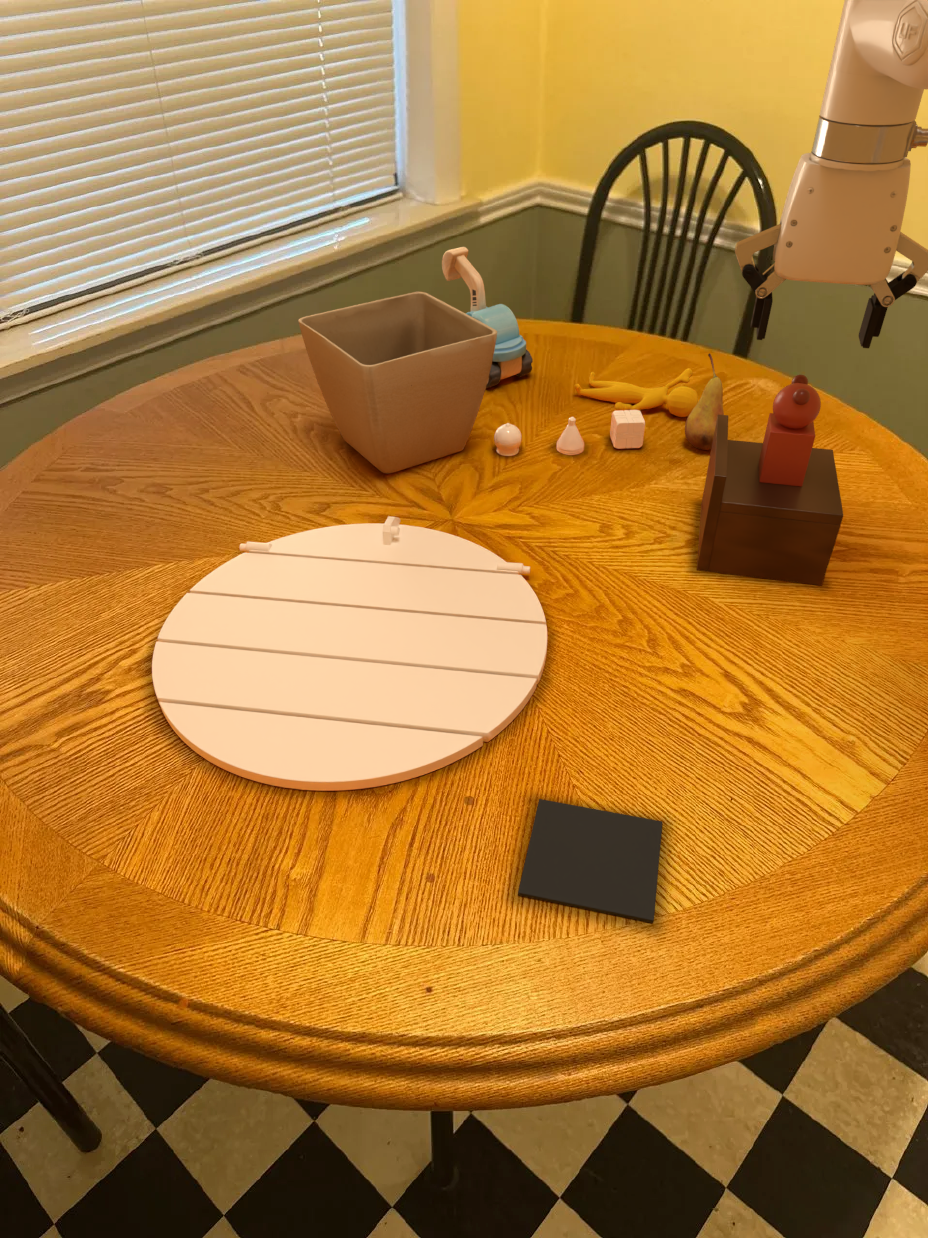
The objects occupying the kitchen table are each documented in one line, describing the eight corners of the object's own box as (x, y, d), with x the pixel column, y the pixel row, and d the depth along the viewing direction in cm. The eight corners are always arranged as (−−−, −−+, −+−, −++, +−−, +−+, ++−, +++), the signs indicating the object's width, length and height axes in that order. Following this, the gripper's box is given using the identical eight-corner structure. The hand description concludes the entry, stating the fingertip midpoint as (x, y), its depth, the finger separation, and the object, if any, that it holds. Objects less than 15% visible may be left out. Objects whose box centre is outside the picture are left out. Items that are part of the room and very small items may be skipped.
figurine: (602, 355, 133) (715, 369, 125) (602, 384, 136) (713, 399, 127) (560, 388, 125) (678, 405, 116) (561, 417, 128) (676, 437, 119)
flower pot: (427, 402, 129) (421, 287, 118) (500, 452, 117) (501, 330, 106) (312, 436, 121) (294, 318, 110) (376, 495, 109) (364, 367, 98)
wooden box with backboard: (814, 516, 103) (839, 425, 95) (821, 586, 93) (851, 489, 85) (701, 504, 106) (717, 414, 98) (696, 570, 95) (714, 475, 88)
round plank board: (242, 516, 106) (237, 492, 103) (561, 540, 100) (563, 515, 98) (79, 763, 75) (66, 736, 73) (524, 816, 70) (525, 789, 68)
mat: (662, 824, 69) (662, 821, 69) (653, 923, 62) (653, 920, 62) (539, 801, 71) (539, 798, 71) (517, 895, 64) (517, 892, 64)
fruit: (676, 451, 116) (689, 365, 108) (688, 433, 120) (702, 349, 112) (717, 460, 114) (733, 373, 106) (728, 441, 118) (745, 356, 110)
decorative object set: (643, 452, 116) (646, 421, 113) (494, 457, 116) (495, 427, 113) (636, 436, 119) (640, 406, 117) (492, 441, 119) (492, 411, 116)
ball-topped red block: (800, 465, 95) (824, 373, 88) (803, 488, 91) (828, 394, 84) (757, 461, 96) (777, 370, 89) (758, 483, 92) (779, 390, 85)
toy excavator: (475, 345, 145) (474, 238, 134) (536, 379, 134) (540, 266, 124) (433, 358, 142) (428, 249, 131) (492, 393, 131) (492, 278, 120)
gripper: (962, 136, 74) (900, 331, 85) (754, 129, 77) (720, 317, 88) (980, 156, 68) (911, 362, 79) (755, 147, 72) (719, 346, 83)
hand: (811, 338), depth 84 cm, fingers open, 9 cm apart
